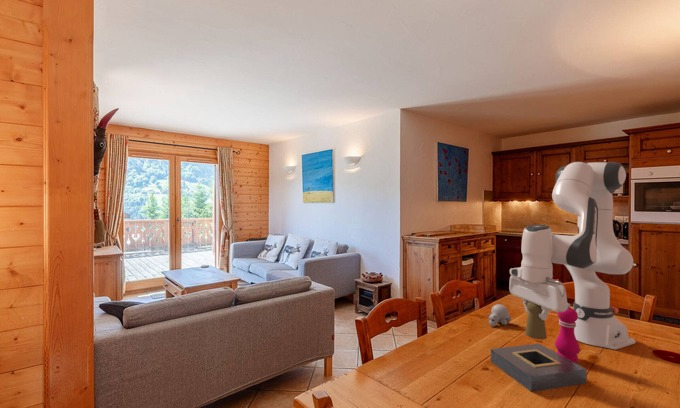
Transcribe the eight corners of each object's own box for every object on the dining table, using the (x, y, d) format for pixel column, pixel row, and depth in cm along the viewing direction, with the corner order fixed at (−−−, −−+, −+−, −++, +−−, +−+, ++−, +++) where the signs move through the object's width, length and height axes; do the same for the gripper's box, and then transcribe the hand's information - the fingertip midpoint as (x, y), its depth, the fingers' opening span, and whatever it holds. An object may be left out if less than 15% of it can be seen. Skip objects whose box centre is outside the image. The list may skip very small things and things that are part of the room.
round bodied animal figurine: (484, 329, 147) (479, 313, 146) (500, 315, 153) (495, 299, 151) (498, 334, 141) (493, 318, 139) (514, 319, 146) (509, 303, 145)
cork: (549, 340, 102) (550, 305, 102) (528, 338, 103) (529, 304, 103) (542, 332, 108) (542, 300, 108) (522, 330, 109) (523, 298, 109)
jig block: (538, 355, 117) (539, 342, 117) (586, 383, 99) (586, 368, 99) (490, 361, 113) (490, 348, 112) (531, 391, 95) (531, 375, 95)
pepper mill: (575, 355, 117) (575, 301, 116) (583, 365, 110) (583, 307, 110) (552, 352, 119) (552, 299, 119) (558, 362, 112) (558, 305, 112)
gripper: (573, 282, 96) (572, 328, 96) (521, 267, 116) (520, 305, 116) (555, 283, 94) (555, 329, 95) (506, 268, 114) (505, 306, 115)
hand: (535, 316), depth 106 cm, fingers closed on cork, 4 cm apart
